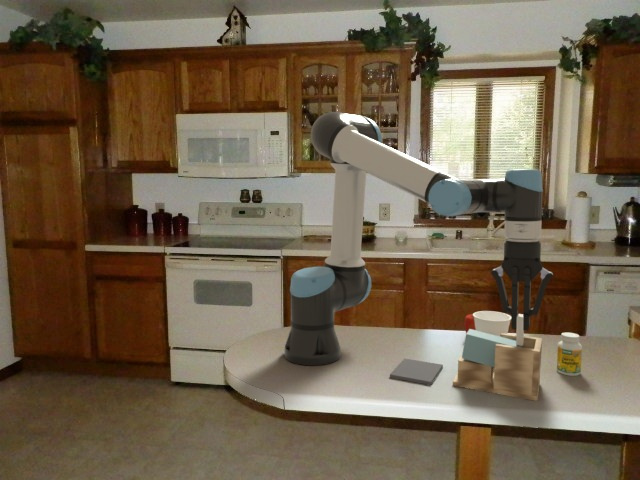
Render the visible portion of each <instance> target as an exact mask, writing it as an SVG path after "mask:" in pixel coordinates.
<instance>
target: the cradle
mask: <svg viewBox="0 0 640 480" xmlns="http://www.w3.org/2000/svg"><path fill="white" fill-rule="evenodd" d="M500 337H503V338H507V339H511V340H515V341H516V334H512V333H507V334H505V333H501V334H500ZM542 345H543V338H541V337H535V336H527V335H524V343H523V346H522V347H516V346H509V345H502V344H496V345H495V367H491V366H487V365H484V364H480V363H477V362H473V361H470V360H466V359H463V358H462V355H461V356H460V357H459V359H458V361H457V365H458V366H457V373H456V375H455V376H454V379H453V380H452V387H453V386H454V387H458V386H459V387H460V388H463V387H465V388H464V389H469V388H470V390H474V389H475V391H480V390H481V391H480V392H485V391H486V393H491V392H492V393H491V394H496V393H497V394H498V395H502V396H507V397H513V398H519V399H526V400H530V401H535V402H537V401H538V397H539V390H540V384H541V383H540V382H541V381H540V380H541V363H542V349H543V346H542ZM459 387H458V388H459Z"/></svg>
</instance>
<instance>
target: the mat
mask: <svg viewBox="0 0 640 480" xmlns="http://www.w3.org/2000/svg"><path fill="white" fill-rule="evenodd" d="M443 366H444V365H443V364H441V363H434V362H430V361H429V362H428V361H422V360H416V359H411V358H410V359H409V358H405V357H404V358H403V360H401V361H400V362H399V364H398V365H397V366H396V367H395V368H394V369H393V370H391V373H389V378H391V379H395V380H396V379H397V380H402V381H405V382H406V381H407V382H412V383H416V384H417V383H418V384H424V385H429V386H432V384H433V383H434V382H435V380H437V377H438V376H439V374H440V373H441V371H442V369H443Z"/></svg>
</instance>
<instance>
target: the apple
mask: <svg viewBox="0 0 640 480" xmlns="http://www.w3.org/2000/svg"><path fill="white" fill-rule="evenodd" d="M464 327H465V335H466V334H467V332H468V331H469V329H472V330H476V329H475V322H474V316H473V313H470V314H467V315H466V316H465V317H464Z"/></svg>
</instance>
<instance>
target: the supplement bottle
mask: <svg viewBox="0 0 640 480" xmlns="http://www.w3.org/2000/svg"><path fill="white" fill-rule="evenodd" d="M580 337H581V336H580V335H579V334H578V333H574V332H562V333H561V336H560V339H561V340H560V341H558V343H557V353H556V354H557V356H556V357H557V358H556V371H557V372H558V373H559V374H561V375H565V376H569V377H575V376H580V374H581V373H582V357H583V346H582V344H581V343H580Z"/></svg>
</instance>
